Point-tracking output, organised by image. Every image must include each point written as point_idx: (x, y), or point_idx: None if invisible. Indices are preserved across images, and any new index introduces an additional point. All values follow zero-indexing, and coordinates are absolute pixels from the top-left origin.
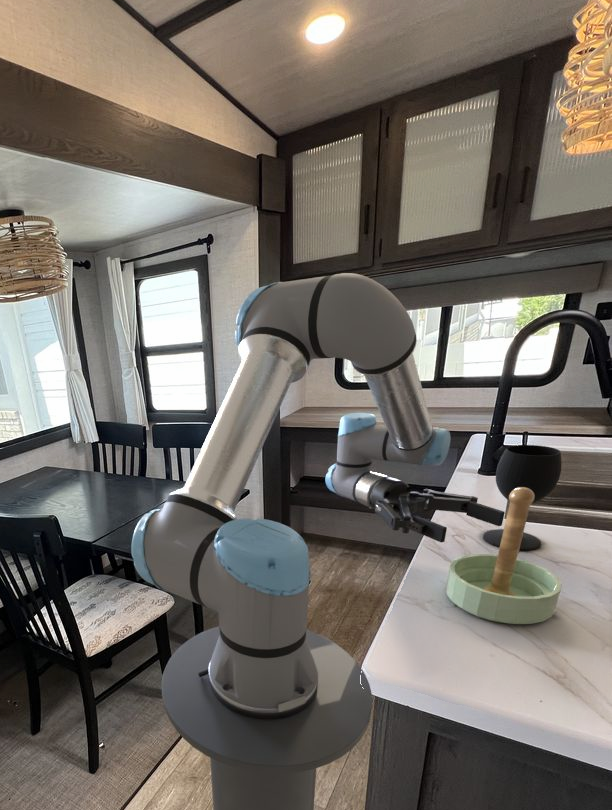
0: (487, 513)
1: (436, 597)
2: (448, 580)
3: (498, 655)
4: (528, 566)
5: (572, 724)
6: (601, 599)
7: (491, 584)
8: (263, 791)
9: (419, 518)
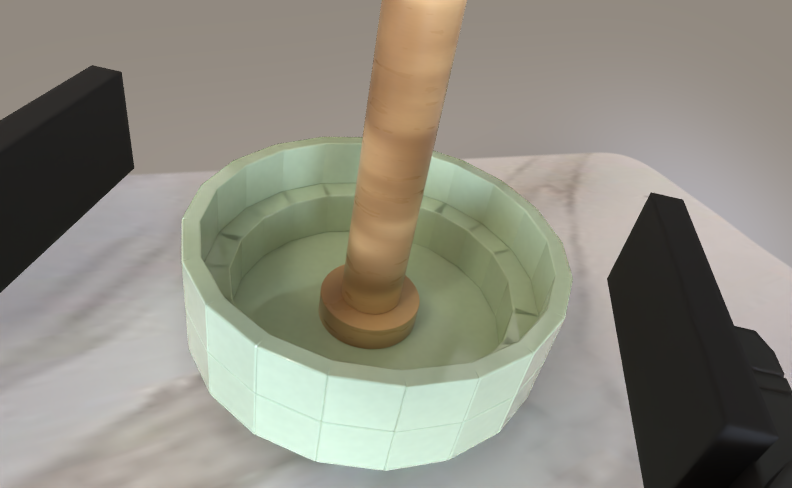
0: (65, 157)
1: (519, 474)
2: (509, 395)
3: (609, 258)
4: (213, 208)
5: (645, 169)
6: (131, 176)
7: (393, 288)
8: None
9: (741, 367)
